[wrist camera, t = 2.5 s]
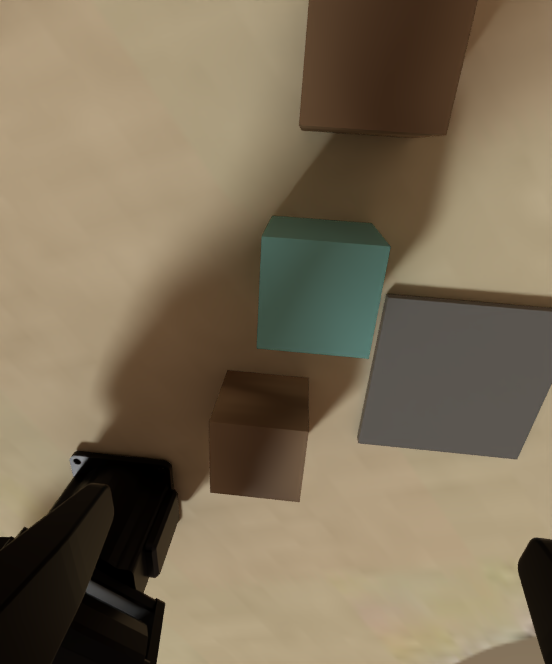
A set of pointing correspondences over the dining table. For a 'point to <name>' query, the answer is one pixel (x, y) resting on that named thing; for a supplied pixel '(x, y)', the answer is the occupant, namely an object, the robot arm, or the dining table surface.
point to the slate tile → (457, 376)
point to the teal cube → (320, 286)
